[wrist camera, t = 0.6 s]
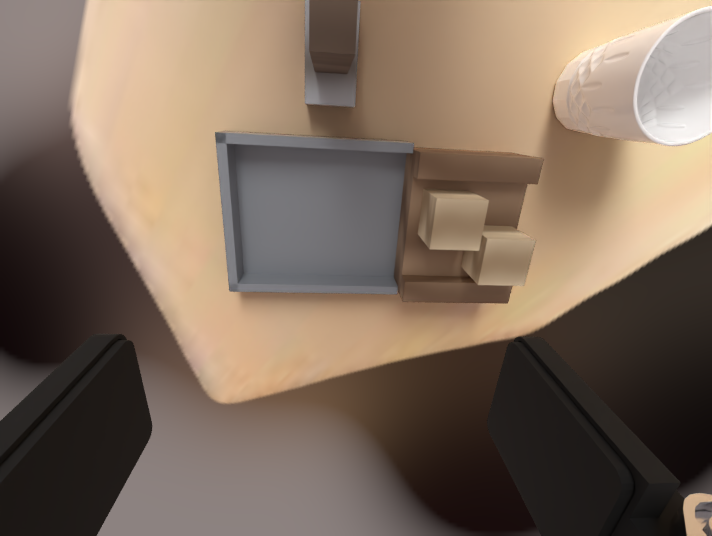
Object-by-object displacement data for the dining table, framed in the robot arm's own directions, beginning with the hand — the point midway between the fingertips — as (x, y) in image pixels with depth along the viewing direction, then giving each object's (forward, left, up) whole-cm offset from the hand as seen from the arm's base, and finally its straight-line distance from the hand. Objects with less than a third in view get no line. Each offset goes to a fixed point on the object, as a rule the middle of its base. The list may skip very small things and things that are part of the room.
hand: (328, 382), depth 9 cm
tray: (+2, -1, -26) cm, 26 cm away
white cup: (-10, +23, -27) cm, 36 cm away
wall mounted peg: (-11, 0, -26) cm, 29 cm away
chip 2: (+4, +15, -22) cm, 27 cm away
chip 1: (+1, +10, -22) cm, 24 cm away
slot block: (+2, +12, -26) cm, 29 cm away
